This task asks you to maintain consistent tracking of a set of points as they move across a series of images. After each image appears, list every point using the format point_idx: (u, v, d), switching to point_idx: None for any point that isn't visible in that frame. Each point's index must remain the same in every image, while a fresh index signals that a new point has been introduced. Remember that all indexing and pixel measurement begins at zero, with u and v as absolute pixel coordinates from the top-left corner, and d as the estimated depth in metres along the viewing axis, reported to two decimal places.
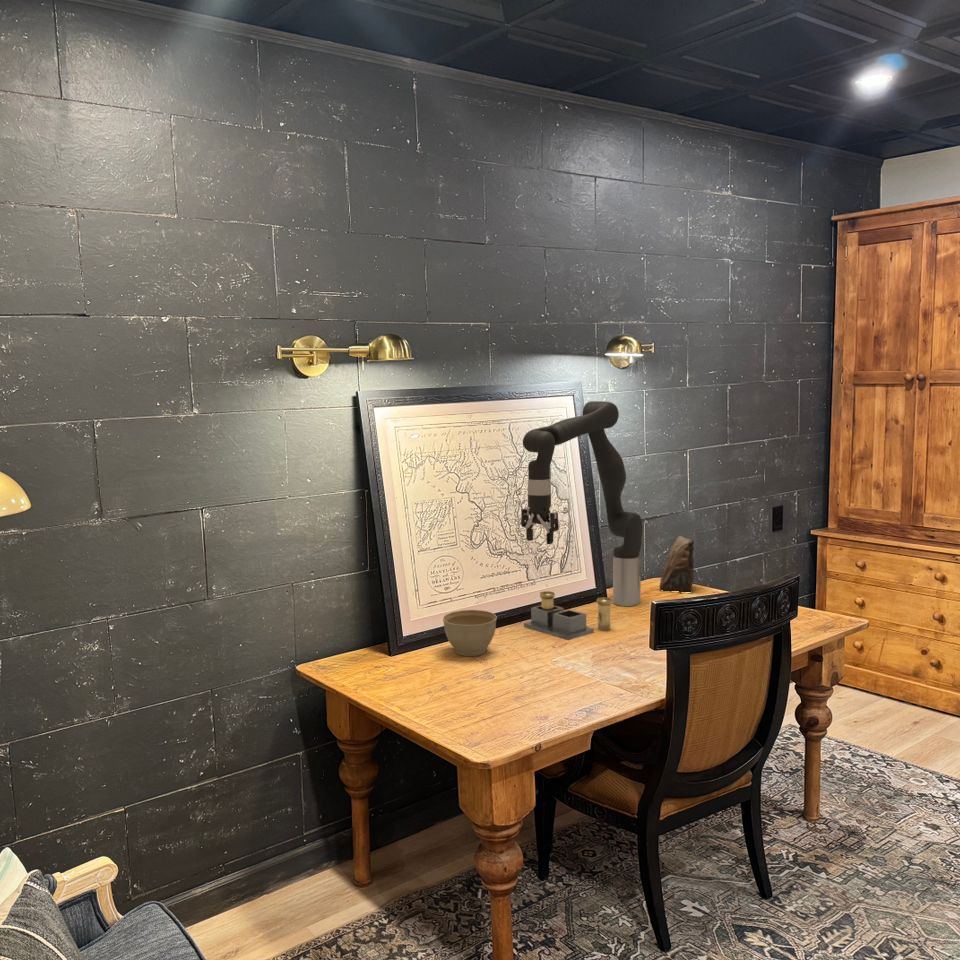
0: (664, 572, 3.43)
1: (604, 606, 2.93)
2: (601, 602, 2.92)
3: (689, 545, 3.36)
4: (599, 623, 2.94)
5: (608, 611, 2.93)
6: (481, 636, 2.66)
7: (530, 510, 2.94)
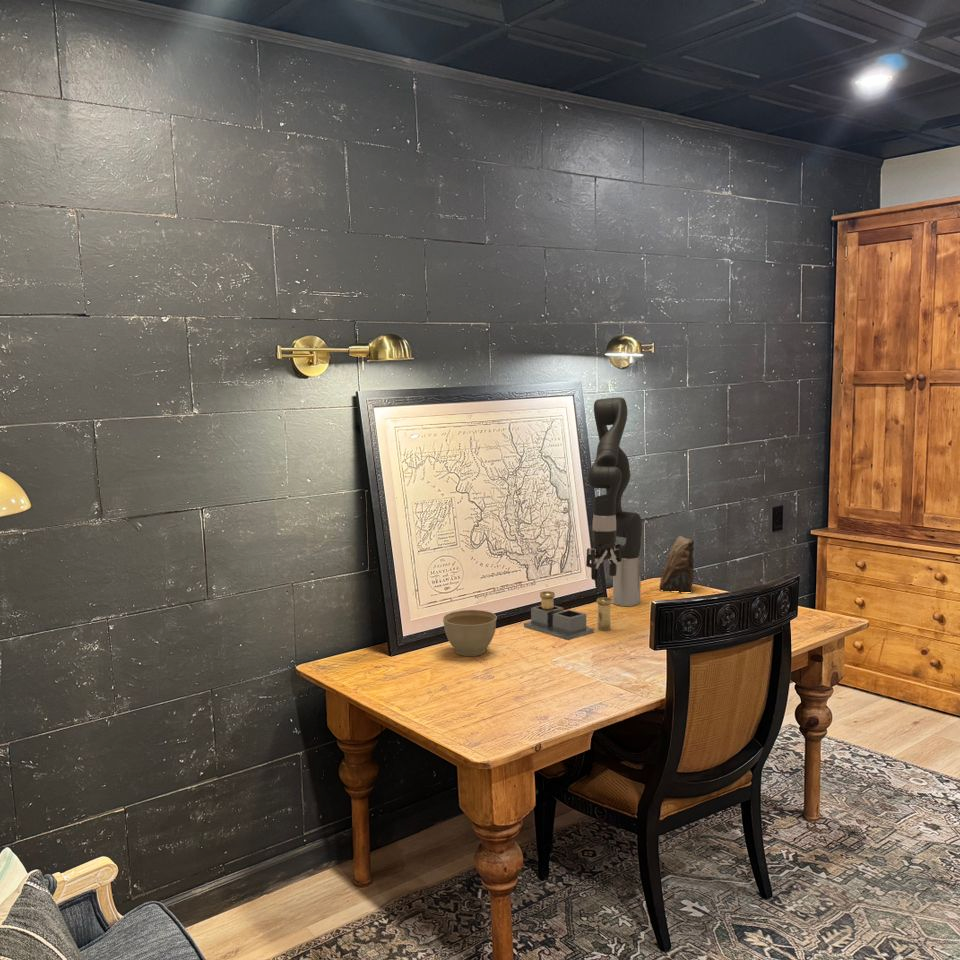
0: (664, 572, 3.43)
1: (604, 606, 2.93)
2: (601, 602, 2.92)
3: (689, 545, 3.36)
4: (599, 623, 2.94)
5: (608, 611, 2.93)
6: (481, 636, 2.66)
7: (600, 548, 2.89)
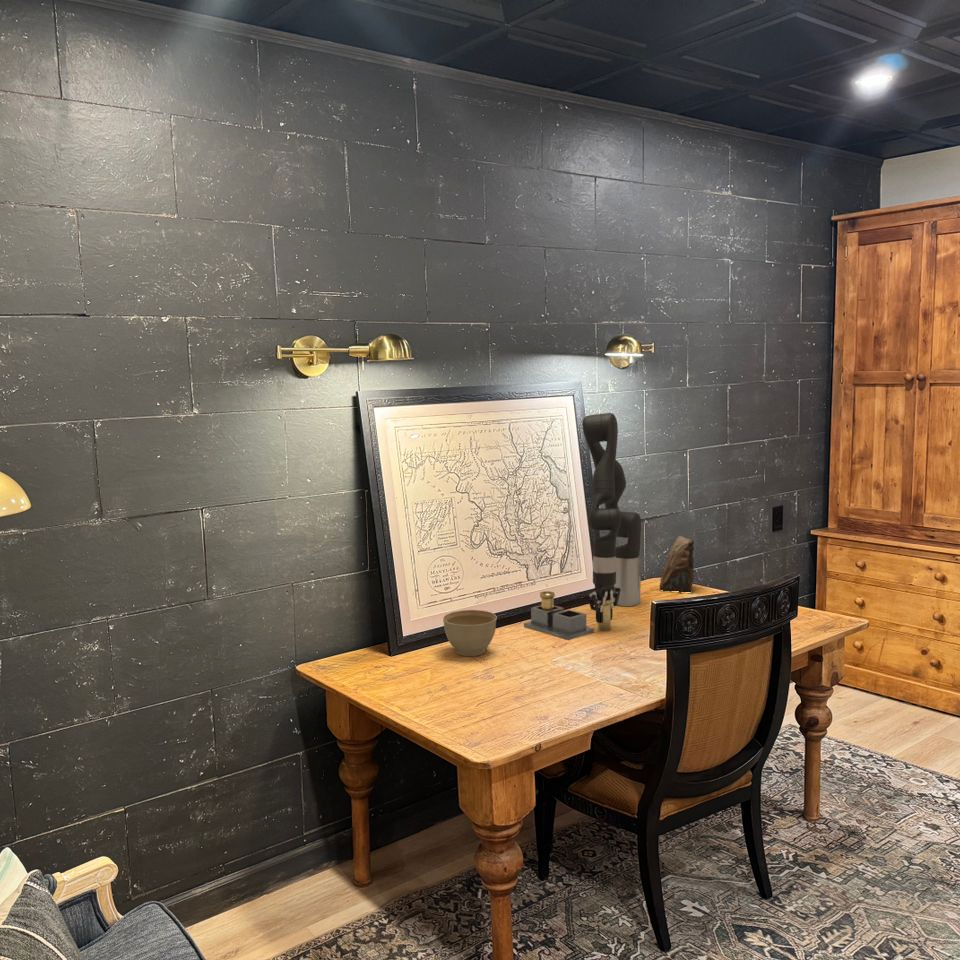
0: (664, 572, 3.43)
1: (604, 606, 2.93)
2: None
3: (689, 545, 3.36)
4: (599, 623, 2.94)
5: (608, 611, 2.93)
6: (481, 636, 2.66)
7: (600, 589, 2.91)
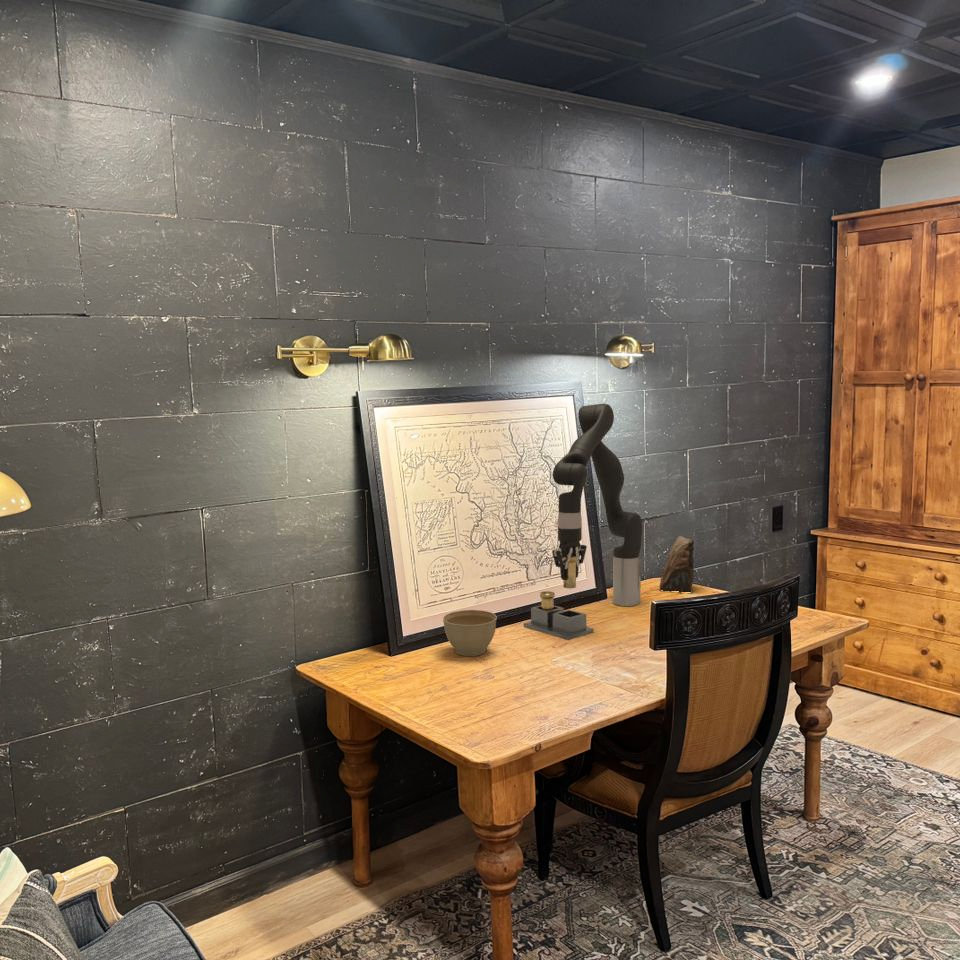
0: (664, 572, 3.43)
1: (569, 563, 2.87)
2: None
3: (689, 545, 3.36)
4: (564, 580, 2.89)
5: (573, 568, 2.88)
6: (481, 636, 2.66)
7: (565, 546, 2.86)
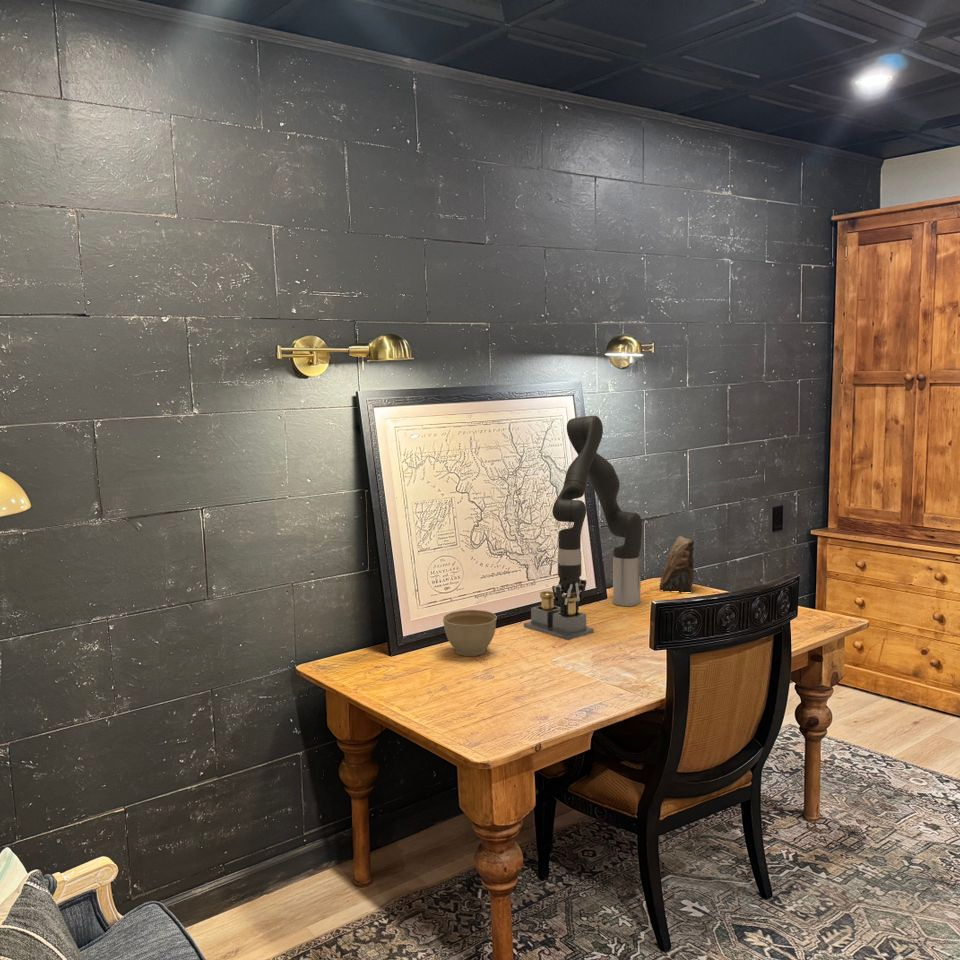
0: (664, 572, 3.43)
1: (569, 604, 2.89)
2: None
3: (689, 545, 3.36)
4: None
5: (573, 608, 2.89)
6: (481, 636, 2.66)
7: (565, 582, 2.87)
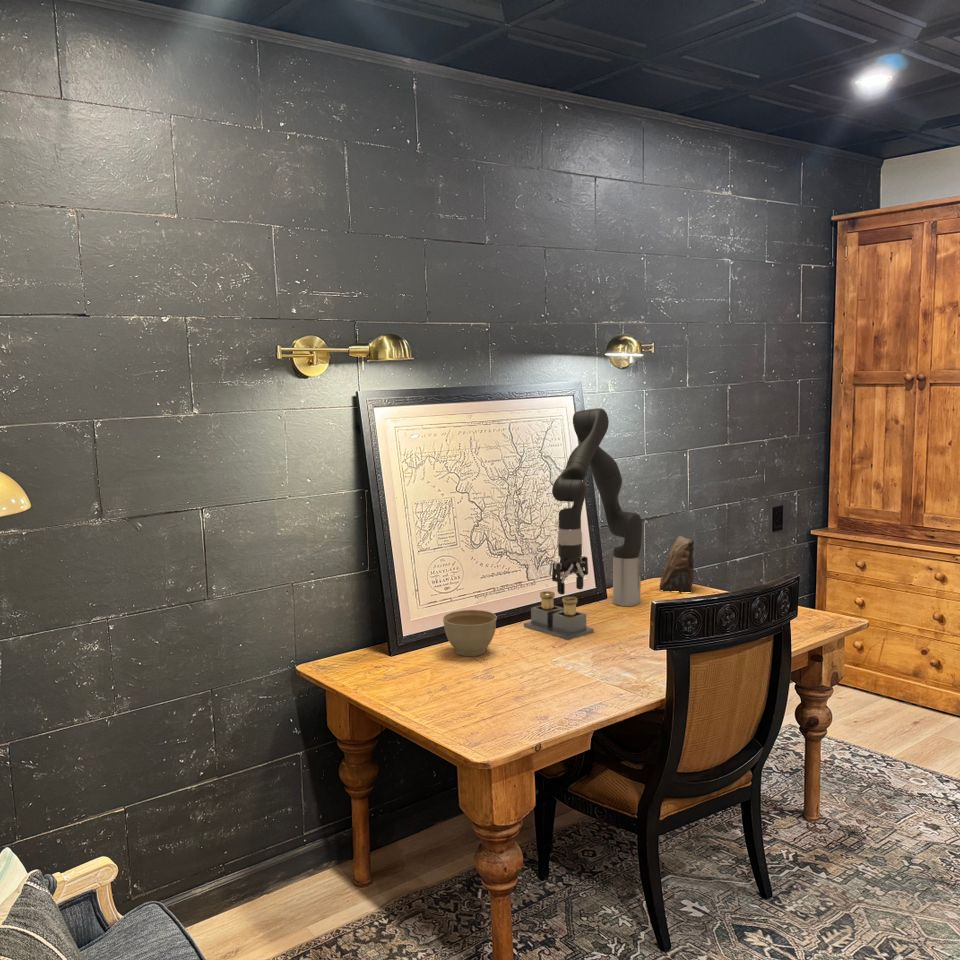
0: (664, 572, 3.43)
1: (569, 606, 2.89)
2: (566, 601, 2.89)
3: (689, 545, 3.36)
4: None
5: (573, 610, 2.90)
6: (481, 636, 2.66)
7: (566, 562, 2.86)
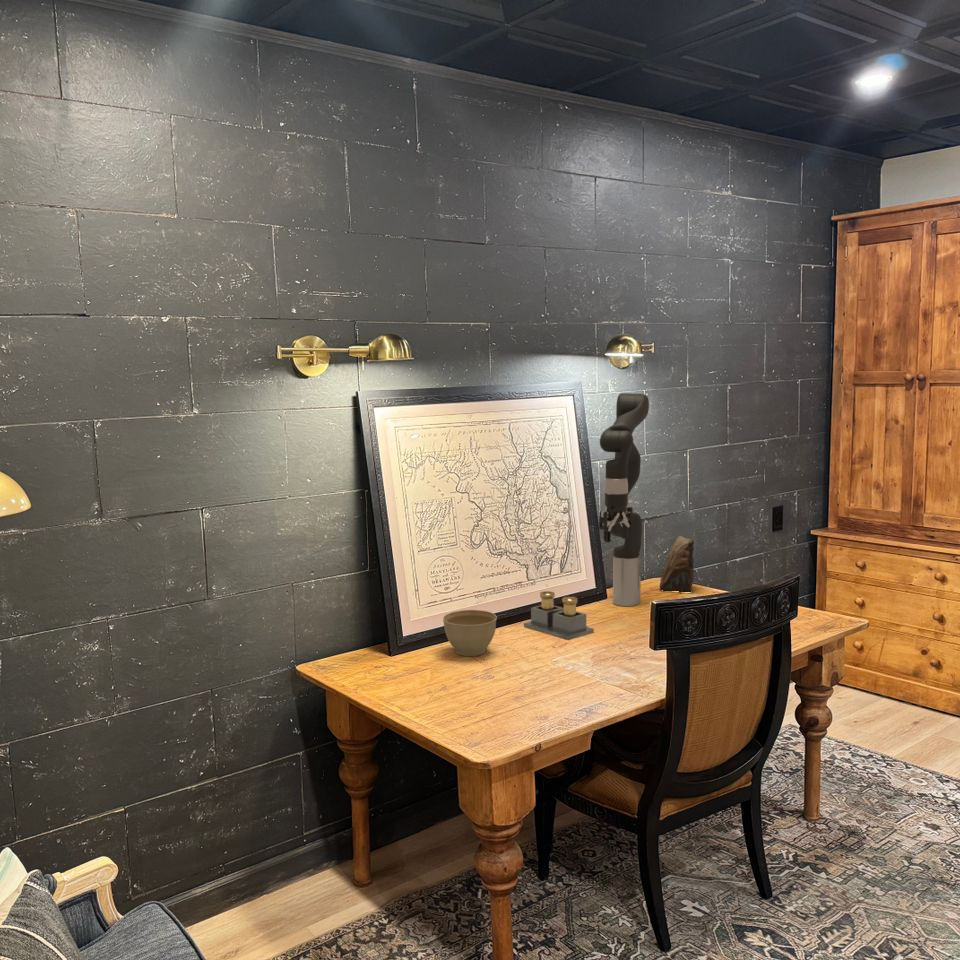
0: (664, 572, 3.43)
1: (569, 606, 2.89)
2: (566, 601, 2.89)
3: (689, 545, 3.36)
4: None
5: (573, 610, 2.90)
6: (481, 636, 2.66)
7: (612, 511, 2.95)
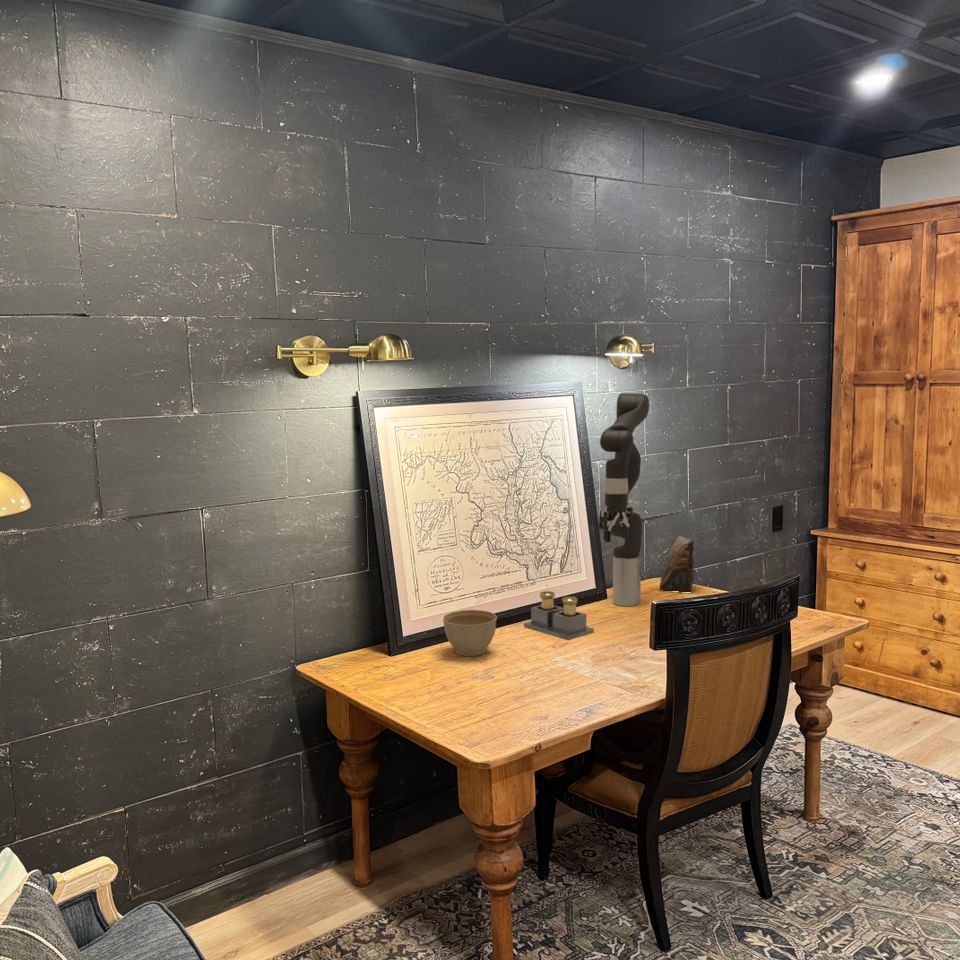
0: (664, 572, 3.43)
1: (569, 606, 2.89)
2: (566, 601, 2.89)
3: (689, 545, 3.36)
4: None
5: (573, 610, 2.90)
6: (481, 636, 2.66)
7: (612, 510, 2.95)
